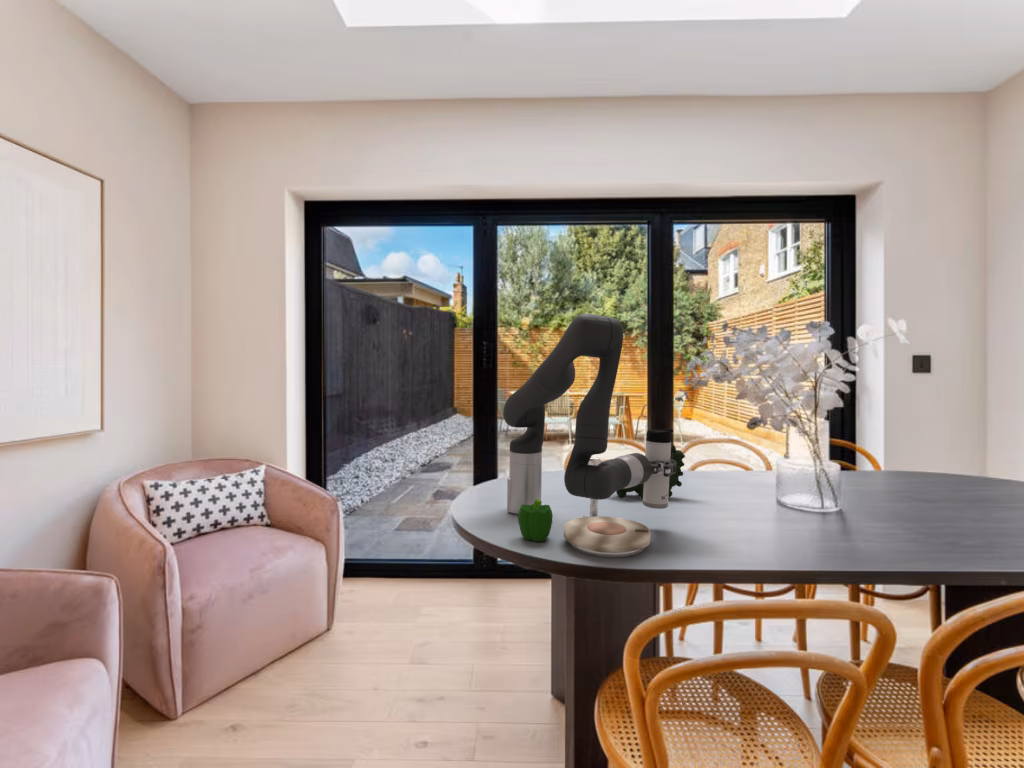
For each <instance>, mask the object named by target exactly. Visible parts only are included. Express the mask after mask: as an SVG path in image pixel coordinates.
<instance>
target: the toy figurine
mask: <svg viewBox="0 0 1024 768" xmlns="http://www.w3.org/2000/svg"><path fill="white" fill-rule="evenodd" d="M671 453H672V454H671V457H670V460H675V461H676V473H675V474H673V475H671V476H669V495H668V498H669V497H672V496H673V491H672V489H673V487H675V486H676V487H679V488H680V487H682V485H683V483H682V481H680V480H679V477H683V476H684V472H683V471H682V467H684V466H685V462H684V461H683V460H684V459H685V458H686V455H685V454H684V453H683V452H682V450H680V449H677V448H676V446H675V444H673V443H671ZM643 490H644V483H643V484H639V485H636V486H633V487H630V488H623V489H619V490H616V492H615V493H616V495H617V496H618V497H619V498H625V497H626V496H627V493H633V492H635V493H636V494H637V495H638V497H639V498H641V499H643Z"/></svg>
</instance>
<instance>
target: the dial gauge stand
mask: <svg viewBox="0 0 1024 768" xmlns="http://www.w3.org/2000/svg"><path fill="white" fill-rule="evenodd" d="M601 462H603V460H602V459H601V458H599V457H594V456H591V458H590V460H589V463H588V465H594V466H597V465H598V464H600V463H601ZM598 505H599V500H597V499H590V498H589V516H586V515H585V516H584V515H583V516H582V517H593V516H598V514H599V512H598Z"/></svg>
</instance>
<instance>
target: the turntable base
mask: <svg viewBox="0 0 1024 768" xmlns="http://www.w3.org/2000/svg"><path fill="white" fill-rule="evenodd" d="M569 544H570V546H571V547H572V548H573V549H574V550H575V549H576V550H575V551H577V552H579V553H582V554H585V555H589V556H593V557H599V558H608V559H609V558H611V559H613V558H616V559H617V558H618V559H619V558H627V557H632V556H636V555H638V554H641V553H642V552H643V551H644V548H642V549H639V550H634V551H627V552H605V551H596V550H591V549H586V548H582V547H579V546H576V545H574V544H572V543H570V542H569Z"/></svg>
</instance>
